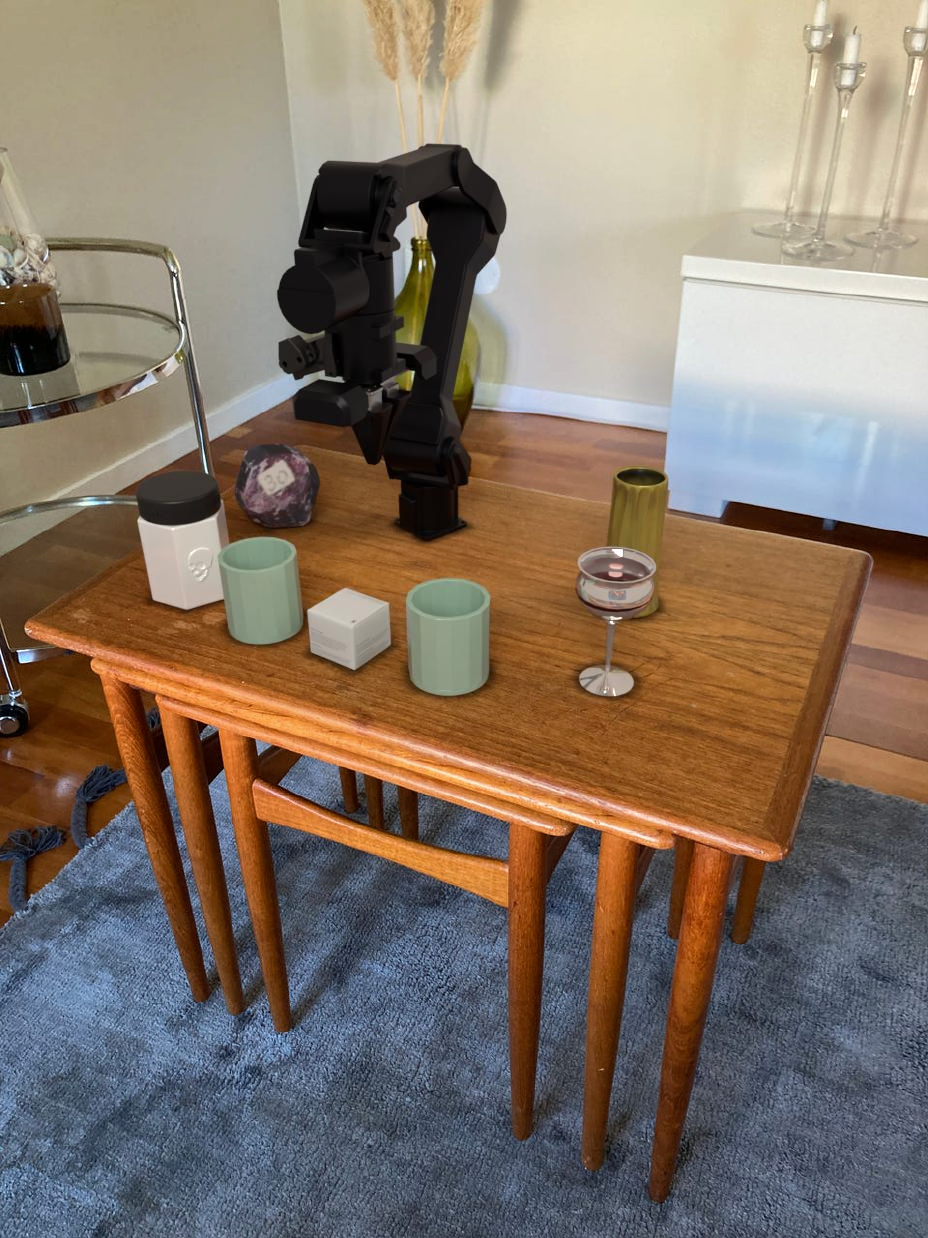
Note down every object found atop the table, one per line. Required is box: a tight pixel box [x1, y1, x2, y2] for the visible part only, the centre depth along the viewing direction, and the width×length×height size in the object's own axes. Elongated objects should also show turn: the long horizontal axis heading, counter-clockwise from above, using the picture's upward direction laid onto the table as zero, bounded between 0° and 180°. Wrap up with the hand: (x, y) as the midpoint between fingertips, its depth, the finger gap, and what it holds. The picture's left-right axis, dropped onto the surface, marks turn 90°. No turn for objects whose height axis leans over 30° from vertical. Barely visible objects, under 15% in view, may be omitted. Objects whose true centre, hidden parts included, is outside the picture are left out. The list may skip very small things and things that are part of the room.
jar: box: [134, 470, 230, 611], centre depth 99 cm, size 9×8×12 cm
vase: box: [606, 465, 669, 619], centre depth 96 cm, size 6×6×14 cm
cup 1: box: [217, 536, 304, 645], centre depth 94 cm, size 7×7×8 cm
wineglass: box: [574, 546, 656, 697], centre depth 85 cm, size 7×7×12 cm
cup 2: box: [405, 577, 492, 697], centre depth 87 cm, size 7×7×8 cm
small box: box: [306, 587, 392, 671], centre depth 91 cm, size 6×6×5 cm
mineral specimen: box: [233, 443, 321, 529], centre depth 115 cm, size 10×10×10 cm
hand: (373, 463), depth 98 cm, fingers closed
